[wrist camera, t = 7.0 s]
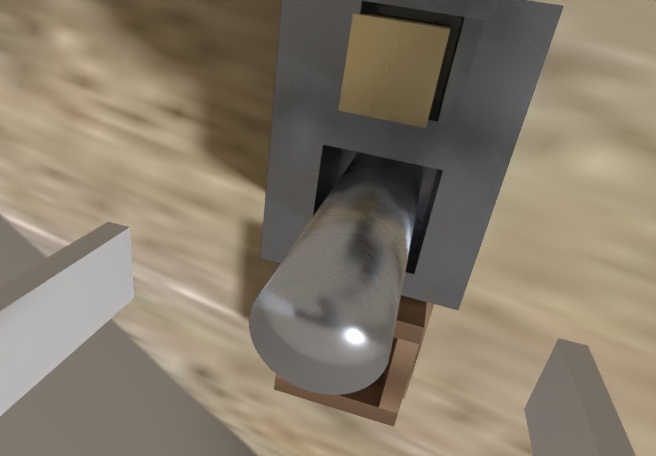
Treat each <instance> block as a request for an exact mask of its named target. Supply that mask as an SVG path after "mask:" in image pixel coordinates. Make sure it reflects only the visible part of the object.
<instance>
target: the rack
mask: <svg viewBox="0 0 656 456" xmlns="http://www.w3.org/2000/svg"><path fill="white" fill-rule="evenodd" d="M433 305H434V304H433V303H429V302H425V301H421V300H418V299H414V298H410V297H406V296H402V295H401V298H400V303H399V309H398V314H397V319H396V325H395V330H394V336H393V341H392V347H391V352H390V357H389V361H388V364H387V366H386V368H385V370H384V372H383V373H382V374H381V376H380V377H379V378H378V379H377V380H376V381H375V382H373V383H372V384H371V385H369V386H367V387H366V388H364V389H361V390H359V391H356V392H353V393H348V394H341V395H328V394H320V393H315V392H311V391H308V390H305V389H302V388H299V387H297V386H295V385H293V384H291V383H289V382H288V381H286V380H284V379H283V378H281V377H280V376H279V375H277V374H276V378H275V386H274V390H278V391H281V392H284V393H287V394H291V395H294V396H297V397H300V398H303V399H307V400H310V401H313V402H316V403H320V404H323V405H326V406H329V407H332V408H336V409H339V410H342V411H345V412H349V413H352V414H355V415H358V416H361V417H365V418H368V419H371V420H374V421H378V422H381V423H384V424H387V425H390V426H394V424H395V421H396V418H397V415H398V411H399V408H400V405H401V402H402V398H405V395H406V392H407V389H408V386H409V382H410V379H411V376H412V373H413V370H414V366H415V363H416V360H417V357H418V354H419V350H420V347H421V344H422V341H423V337H424V334H425V331H426V328H427V325H428V321H429V318H430V315H431V312H432V309H433Z"/></svg>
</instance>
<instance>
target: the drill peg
mask: <svg viewBox="0 0 656 456" xmlns="http://www.w3.org/2000/svg"><path fill="white" fill-rule="evenodd" d="M421 184H422V170H421V166H420V165H416V164H411V163H407V162H402V161H397V160H393V159H388V158H383V157H379V156H374V155H370V154H365V153H360V152H358V153H357V154H356V156H355V157H354V159H353V160H352V161H351V163H350V164H349V166H348V167H347V169H346V170H345V171H344V173H343V174H342V176H341V177H340V179H339V180H338V182H337V183H336V184H335V186H334V187H333V189H332V190H331V192H330V193H329V194H328V196H327V197H326V199H325V200H324V202H323V203H322V205H321V206H320V207H319V209H318V210H317V212H316V213H315V215H314V216H313V218H312V219H311V220H310V222H309V223H308V225H307V226H306V228H305V229H304V230H303V232H302V233H301V235H300V236H299V238H298V239H297V241H296V242H295V243H294V245H293V246H292V248H291V249H290V251H289V252H288V253H287V255H286V256H285V258H284V259H283V261H282V262H281V264H280V265H279V266H278V268H277V269H276V271H275V272H274V274H273V275H272V276H271V278H270V279H269V281H268V282H267V284H266V285H265V287H264V288H263V289H262V291H261V292H260V294H259V295H258V297H257V298H256V300H255V302H254V303H253V305H252V308H251V311H250V317H249V329H250V335H251V338H252V342H253V344H254V346H255V348H256V350H257V352H258V354H259V355H260V357H261V358H262V359H263V361H264V362H265V363H266V364H267V365H268V366H269V367H270V368H271V369H272V370H273V371H274V372H275V373H276V374H277V375H279V376H280V377H281V378H283V379H284V380H286V381H288V382H289V383H291V384H293V385H295V386H297V387H299V388H302V389H305V390H308V391H311V392H315V393H320V394H328V395H341V394H348V393H353V392H356V391H359V390H361V389H364V388H366V387H367V386H369V385H371V384H372V383H373V382H375V381H376V380H377V379H378V378H379V377H380V376H381V374H382V373H383V372H384V370H385V368H386V366H387V364H388V361H389V357H390V352H391V347H392V341H393V336H394V330H395V325H396V319H397V314H398V309H399V303H400V298H401V292H402V287H403V282H404V276H405V271H406V265H407V260H408V254H409V249H410V244H411V238H412V233H413V227H414V222H415V217H416V211H417V206H418V200H419V195H420V189H421Z"/></svg>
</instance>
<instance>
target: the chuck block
mask: <svg viewBox="0 0 656 456" xmlns="http://www.w3.org/2000/svg"><path fill="white" fill-rule="evenodd" d="M562 9H563V6H560V5H554V4H547V3H540V2H534V1H527V0H282V8H281V19H280V31H279V43H278V55H277V67H276V79H275V90H274V102H273V114H272V126H271V138H270V150H269V161H268V173H267V185H266V197H265V209H264V221H263V232H262V244H261V256H260V258H262V259H266V260H269V261H273V262H277V263H281V262H282V261H283V259H284V258H285V256H286V255H287V253H288V252H289V251H290V249H291V248H292V246H293V245H294V243H295V242H296V241H297V239H298V238H299V236H300V235H301V233H302V232H303V230H304V229H305V228H306V226H307V225H308V223H309V222H310V220H311V219H312V218H313V216H314V215H315V213H316V212H317V210H318V209H319V207H320V206H321V205H322V203H323V202H324V200H325V199H326V197H327V196H328V194H329V193H330V192H331V190H332V189H333V187H334V186H335V184H336V183H337V182H338V180H339V179H340V177H341V176H342V174H343V173H344V171H345V170H346V169H347V167H348V166H349V164H350V163H351V161H352V160H353V159H354V157H355V156H356V154H357V153H358V152H360V153H365V154H370V155H374V156H379V157H383V158H388V159H393V160H397V161H402V162H407V163H411V164H416V165H420V166H421V170H422V184H421V189H420V195H419V200H418V206H417V211H416V217H415V222H414V227H413V233H412V238H411V244H410V249H409V254H408V260H407V265H406V271H405V276H404V282H403V287H402V292H401V295H402V296H406V297H410V298H414V299H418V300H421V301H425V302H429V303H433V304H437V305H441V306H444V307H448V308H452V309H456V310H458V309H459V307H460V304H461V301H462V298H463V295H464V292H465V289H466V286H467V283H468V281H469V278H470V275H471V272H472V269H473V266H474V263H475V260H476V257H477V255H478V252H479V249H480V246H481V243H482V240H483V237H484V234H485V231H486V229H487V226H488V223H489V220H490V217H491V214H492V211H493V208H494V205H495V203H496V200H497V197H498V194H499V191H500V188H501V185H502V182H503V179H504V177H505V174H506V171H507V168H508V165H509V162H510V159H511V156H512V153H513V151H514V148H515V145H516V142H517V139H518V136H519V133H520V130H521V127H522V125H523V122H524V119H525V116H526V113H527V110H528V107H529V104H530V101H531V98H532V96H533V93H534V90H535V87H536V84H537V81H538V78H539V75H540V72H541V70H542V67H543V64H544V61H545V58H546V55H547V52H548V49H549V46H550V44H551V41H552V38H553V35H554V32H555V29H556V26H557V23H558V20H559V18H560V15H561V12H562ZM353 14H384V15H390V16H396V17H402V18H409V19H415V20H421V21H427V22H433V23H439V24H445V25H451V28H450V33H449V37H448V41H447V45H446V49H445V53H444V57H443V61H442V65H441V69H440V73H439V78H438V82H437V86H436V90H435V94H434V98H433V102H432V106H431V110H430V114H429V118H428V122H427V126H426V128H423V127H418V126H413V125H408V124H403V123H398V122H393V121H388V120H383V119H378V118H373V117H368V116H363V115H358V114H353V113H348V112H343V111H338V110H339V103H340V96H341V90H342V83H343V77H344V70H345V64H346V57H347V50H348V44H349V37H350V31H351V24H352V17H353Z"/></svg>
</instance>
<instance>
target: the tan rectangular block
mask: <svg viewBox="0 0 656 456" xmlns="http://www.w3.org/2000/svg"><path fill="white" fill-rule="evenodd" d="M450 28H451V25H445V24H439V23H433V22H427V21H421V20H415V19H409V18H402V17H396V16H390V15H384V14H353V17H352V24H351V31H350V37H349V44H348V50H347V57H346V64H345V70H344V77H343V83H342V90H341V96H340V103H339V110H338V111H343V112H348V113H353V114H358V115H363V116H368V117H373V118H378V119H383V120H388V121H393V122H398V123H403V124H408V125H413V126H418V127H423V128H426V126H427V122H428V118H429V114H430V110H431V106H432V102H433V98H434V94H435V90H436V86H437V82H438V78H439V73H440V69H441V65H442V61H443V57H444V53H445V49H446V45H447V41H448V37H449V33H450Z"/></svg>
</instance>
